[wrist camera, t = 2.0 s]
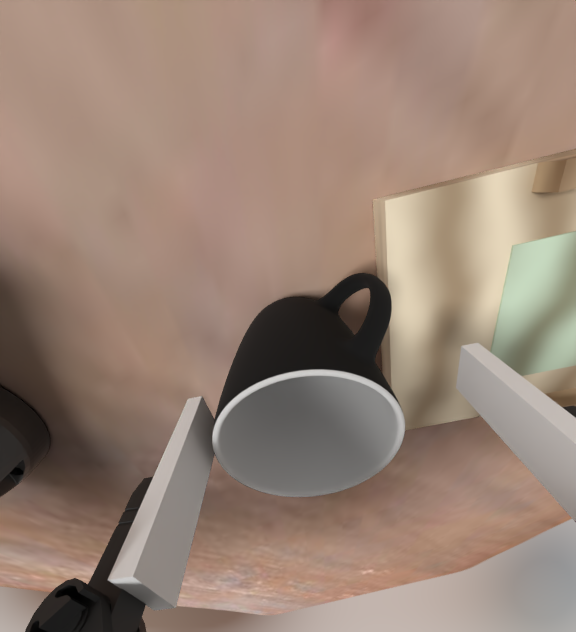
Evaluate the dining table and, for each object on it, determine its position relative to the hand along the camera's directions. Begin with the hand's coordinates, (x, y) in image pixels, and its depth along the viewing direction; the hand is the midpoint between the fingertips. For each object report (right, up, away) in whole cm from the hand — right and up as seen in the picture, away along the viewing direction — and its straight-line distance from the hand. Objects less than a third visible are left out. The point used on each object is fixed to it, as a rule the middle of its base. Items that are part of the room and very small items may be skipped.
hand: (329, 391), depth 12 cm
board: (+15, +5, +7) cm, 18 cm away
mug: (-1, +4, +7) cm, 8 cm away
